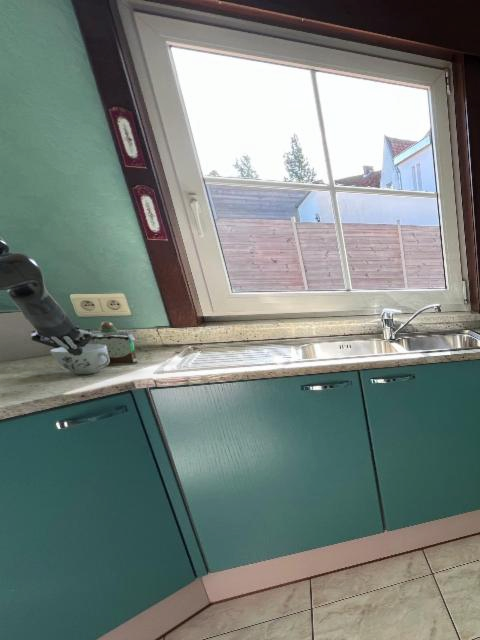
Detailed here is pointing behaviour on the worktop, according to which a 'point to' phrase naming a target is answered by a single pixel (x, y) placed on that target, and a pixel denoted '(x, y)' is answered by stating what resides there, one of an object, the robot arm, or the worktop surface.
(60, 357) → the teacup
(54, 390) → the worktop surface
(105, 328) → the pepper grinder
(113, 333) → the food container
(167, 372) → the worktop surface
